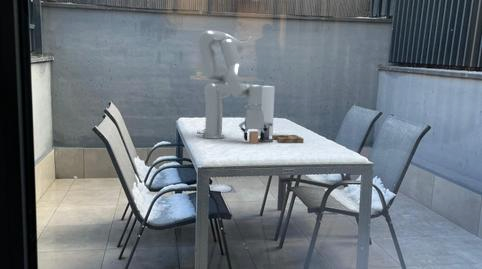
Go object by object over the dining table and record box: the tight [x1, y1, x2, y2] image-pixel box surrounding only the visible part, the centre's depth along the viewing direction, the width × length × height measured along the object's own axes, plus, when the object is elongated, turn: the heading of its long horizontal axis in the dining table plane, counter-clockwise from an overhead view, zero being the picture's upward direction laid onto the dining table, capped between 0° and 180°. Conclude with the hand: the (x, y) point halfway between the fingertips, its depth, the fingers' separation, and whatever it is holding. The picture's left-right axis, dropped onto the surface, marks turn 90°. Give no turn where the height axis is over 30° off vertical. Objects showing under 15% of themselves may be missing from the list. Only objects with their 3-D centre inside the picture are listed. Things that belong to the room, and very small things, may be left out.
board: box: [271, 134, 305, 144], centre depth 257 cm, size 14×14×2 cm
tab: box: [248, 130, 259, 144], centre depth 247 cm, size 4×4×6 cm
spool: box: [258, 122, 274, 143], centre depth 254 cm, size 9×9×10 cm
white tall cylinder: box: [256, 85, 276, 137], centre depth 275 cm, size 9×9×30 cm
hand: (253, 139), depth 247 cm, fingers open, 8 cm apart
